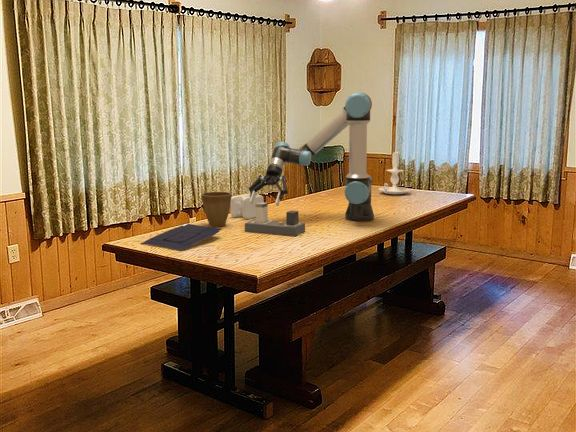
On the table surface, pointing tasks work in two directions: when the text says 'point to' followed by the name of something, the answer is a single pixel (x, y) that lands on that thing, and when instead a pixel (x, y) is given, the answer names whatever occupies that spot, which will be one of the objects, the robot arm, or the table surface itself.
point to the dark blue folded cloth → (182, 237)
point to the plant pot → (216, 207)
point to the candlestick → (394, 179)
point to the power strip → (278, 226)
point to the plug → (261, 212)
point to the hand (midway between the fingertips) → (263, 203)
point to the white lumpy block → (244, 206)
